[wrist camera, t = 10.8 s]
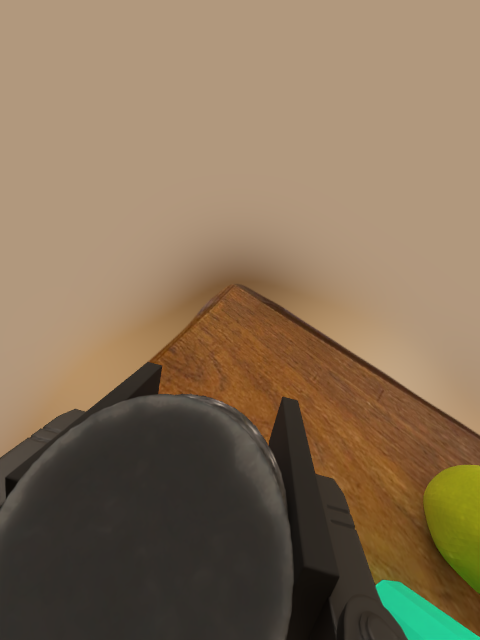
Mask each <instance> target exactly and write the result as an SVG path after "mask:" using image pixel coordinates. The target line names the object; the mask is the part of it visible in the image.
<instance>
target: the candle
mask: <svg viewBox="0 0 480 640" xmlns="http://www.w3.org/2000/svg"><path fill="white" fill-rule="evenodd" d="M376 589H377V592H378V595H379V597H380V600H381V602H382V604H383V606H384V607H385V608H386V609H387V610H388V611H389V612H390V613H391V615H392V616H393V617H394V618H395V620H396V621H397V622H398V624H399V625H400V626H401V628H402V630H403V632H404V633H405V635H406V637H407V639H408V640H480V637H478V636H477V635H476V634H474V633H473V632H471V631H470V630H468V629H467V628H466V627H464V626H463V625H461V624H460V623H458V622H457V621H455V620H454V619H453V618H451V617H450V616H448V615H447V614H445V613H444V612H442V611H441V610H440V609H438V608H437V607H435V606H434V605H432V604H431V603H429V602H428V601H427V600H425V599H424V598H422V597H421V596H419V595H418V594H417V593H415V592H414V591H412V590H411V589H409V588H408V587H406V586H405V585H404V584H402V583H401V582H397V581H389V580H382V581H381V582H379V583H378V584H377V585H376Z"/></svg>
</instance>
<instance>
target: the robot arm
mask: <svg viewBox="0 0 480 640" xmlns="http://www.w3.org/2000/svg"><path fill="white" fill-rule="evenodd" d="M161 371H162V365H158V364H154V363H150V362H147V363H146V364H145V365H143V366H142V367H141V368H140V369H139V370H137V371H136V372H135V373H134V374H132V375H131V376H130V377H129V378H127V379H126V380H125V381H124V382H122V383H121V384H120V385H119V386H117V387H116V388H115V389H114V390H113V391H111V392H110V393H109V394H108V395H106V396H105V397H104V398H103V399H101V400H100V401H99V402H98V403H96V404H95V405H94V406H93V407H91V408H90V409H89V410H88V411H86V412H85V411H81V410H78V409H74V410H71V411H69V412H67V413H64V414H62V415H60V416H58V417H56V418H55V419H54V420H52V421H51V422H49V423H48V424H47V425H45V426H44V427H43V429H40V430H38V431H37V432H36V433H34V434H33V435H31V437H30V438H27V439H26V440H25V441H23V442H21V443H20V444H19V445H17V446H16V447H15V448H13V449H12V450H10V451H9V452H8V453H6V454H5V455H3V456H2V457H1V458H0V509H1V507H2V505H3V503H4V502H5V500H6V499H7V497H8V495H9V494H10V492H11V491H12V490H13V489H14V488H15V486H16V484H17V483H18V481H19V480H20V479H21V478H22V477H23V475H24V474H25V473H26V472H27V471H28V469H29V468H30V467H31V465H32V464H33V463H34V462H35V461H36V460H37V459H39V457H40V456H41V455H42V454H43V453H44V451H45V450H47V449H48V448H49V447H50V446H51V445H52V444H53V443H54V442H55V441H56V440H57V439H59V438H60V437H61V436H63V435H64V434H65V433H66V432H68V431H69V430H70V429H71V428H72V427H74V426H76V425H78V424H80V423H82V422H83V421H84V420H86V419H87V418H88V417H89V416H90V415H92V414H94V413H96V412H98V411H100V410H102V409H104V408H106V407H110V406H112V405H114V404H117V403H119V402H121V401H125V400H129V399H133V398H136V397H139V396H146V395H155V394H158V391H159V384H160V377H161ZM269 447H270V448H271V450H272V452H273V454H274V456H275V460H276V462H277V464H278V466H279V468H280V471H281V473H282V479H283V483H284V488H285V490H286V498H287V504H288V520H289V524H290V530H291V541H292V549H293V564H294V583H293V593H292V612H291V617H290V622H289V628H288V633H287V639H286V640H408V639H407V637H406V635H405V633H404V632H403V630H402V628H401V626H400V625H399V624H398V622H397V621H396V620H395V618H394V617H393V616H392V615H391V613H390V612H389V611H388V610H387V609H386V608H385V607H384V606H383V604H382V602H381V600H380V597H379V595H378V592H377V589H376V586H375V583H374V581H373V578H372V575H371V572H370V569H369V566H368V563H367V560H366V557H365V554H364V551H363V548H362V546H361V543H360V540H359V537H358V534H357V531H356V530H355V525H354V522H353V519H352V516H351V515H350V511H349V508H348V505H347V502H346V499H345V496H344V494H343V492H342V491H341V489H340V488H339V486H338V485H337V483H336V482H335V480H334V479H332V478H329V477H325V476H321V475H318V474H315V471H314V466H313V462H312V458H311V454H310V450H309V445H308V441H307V437H306V433H305V429H304V424H303V420H302V416H301V412H300V408H299V403H298V401H297V400H294V399H290V398H286V397H282V400H281V403H280V407H279V410H278V413H277V417H276V420H275V423H274V427H273V430H272V433H271V437H270V440H269Z"/></svg>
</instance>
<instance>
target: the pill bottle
mask: <svg viewBox="0 0 480 640" xmlns="http://www.w3.org/2000/svg"><path fill="white" fill-rule="evenodd" d="M293 583H294V564H293V549H292V541H291V530H290V524H289V520H288V504H287V498H286V490H285V488H284V483H283V479H282V473H281V471H280V468H279V466H278V464H277V462H276V460H275V456H274V454H273V452H272V450H271V448H270V447H269V446H268V444H267V442H266V440H265V439H264V438H263V436H262V435H261V434H260V432H259V430H258V429H257V427H256V426H255V425H253V423H252V422H251V421H250V420H249V419H248V418H247V417H246V416H244V415H243V414H242V413H241V412H239V411H238V410H237V409H235V408H234V407H231V406H229V405H227V404H224V403H223V402H222V401H218V400H216V399H213V398H209V397H206V396H198V395H192V394H180V395H171V394H155V395H146V396H139V397H136V398H133V399H129V400H125V401H121V402H119V403H117V404H114V405H112V406H110V407H106V408H104V409H102V410H100V411H98V412H96V413H94V414H92V415H90V416H89V417H88V418H87V419H86V420H84V421H83V422H82V423H80V424H78V425H76V426H74V427H72V428H71V429H70V430H69V431H68V432H66V433H65V434H64V435H63V436H61V437H60V438H59V439H57V440H56V441H55V442H54V443H53V444H52V445H51V446H50V447H49V448H48V449H47V450H45V451H44V453H43V454H42V455H41V456H40V457H39V459H37V460H36V461H35V462H34V463H33V464H32V465H31V467H30V468H29V469H28V471H27V472H26V473H25V474H24V475H23V477H22V478H21V479H20V480H19V481H18V483H17V484H16V486H15V488H14V489H13V490H12V491H11V492H10V494H9V495H8V497H7V499H6V500H5V502H4V503H3V505H2V507H1V509H0V640H286V639H287V633H288V628H289V622H290V617H291V612H292V593H293Z"/></svg>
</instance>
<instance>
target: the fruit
mask: <svg viewBox="0 0 480 640" xmlns="http://www.w3.org/2000/svg"><path fill="white" fill-rule="evenodd" d="M423 506H424V511H425V516H426V520H427V524H428V527H429V530H430V533H431V536H432V539H433V541H434V543H435V545H436V547H437V548H438V550H439V552H440V553H441V555H442V556H443V557H444V559H445V560H446V561H447V562H448V563H449V565H450V566H451V567H452V568H453V569H454V570H455V571H456V572H457V573H458V574H459V575H460V576H461V577H462V578H463V579H464V580H465V581H466V582H467V583H468V584H469V585H470V586H471V587H472V588H473V589H474V590H475V591H476V592H478V593H479V594H480V466H478V465H459V466H454V467H450V468H448V469H445V470H443V471H442V472H440V473H439V474H437V475H436V476H435V477H434V478H433V480H431V482H430V483H429V484H428V486H427V488H426V490H425V492H424V496H423Z"/></svg>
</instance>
